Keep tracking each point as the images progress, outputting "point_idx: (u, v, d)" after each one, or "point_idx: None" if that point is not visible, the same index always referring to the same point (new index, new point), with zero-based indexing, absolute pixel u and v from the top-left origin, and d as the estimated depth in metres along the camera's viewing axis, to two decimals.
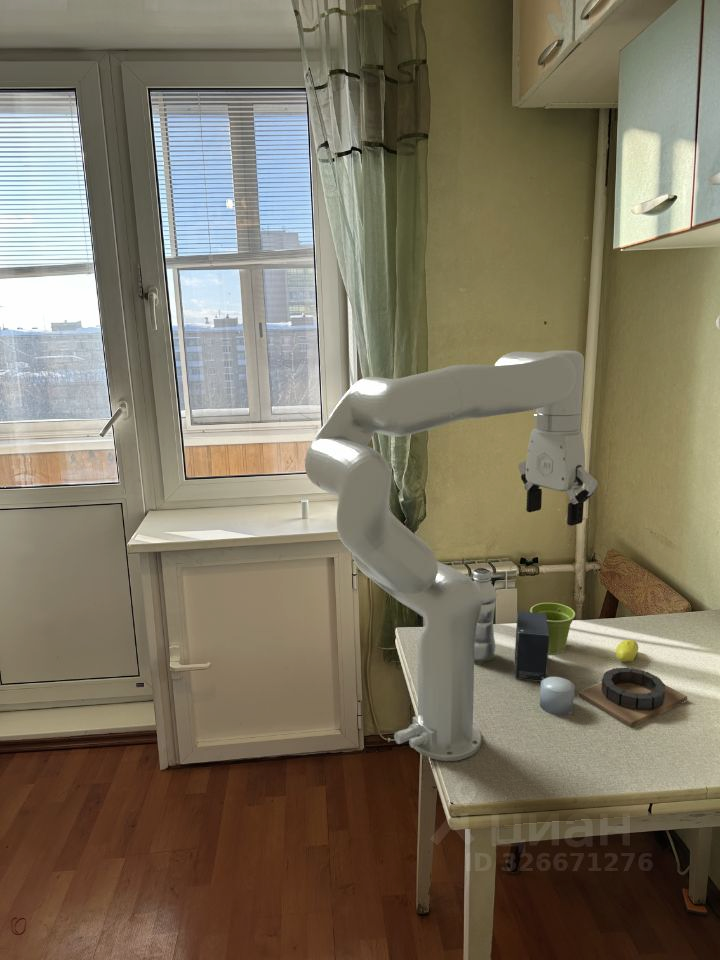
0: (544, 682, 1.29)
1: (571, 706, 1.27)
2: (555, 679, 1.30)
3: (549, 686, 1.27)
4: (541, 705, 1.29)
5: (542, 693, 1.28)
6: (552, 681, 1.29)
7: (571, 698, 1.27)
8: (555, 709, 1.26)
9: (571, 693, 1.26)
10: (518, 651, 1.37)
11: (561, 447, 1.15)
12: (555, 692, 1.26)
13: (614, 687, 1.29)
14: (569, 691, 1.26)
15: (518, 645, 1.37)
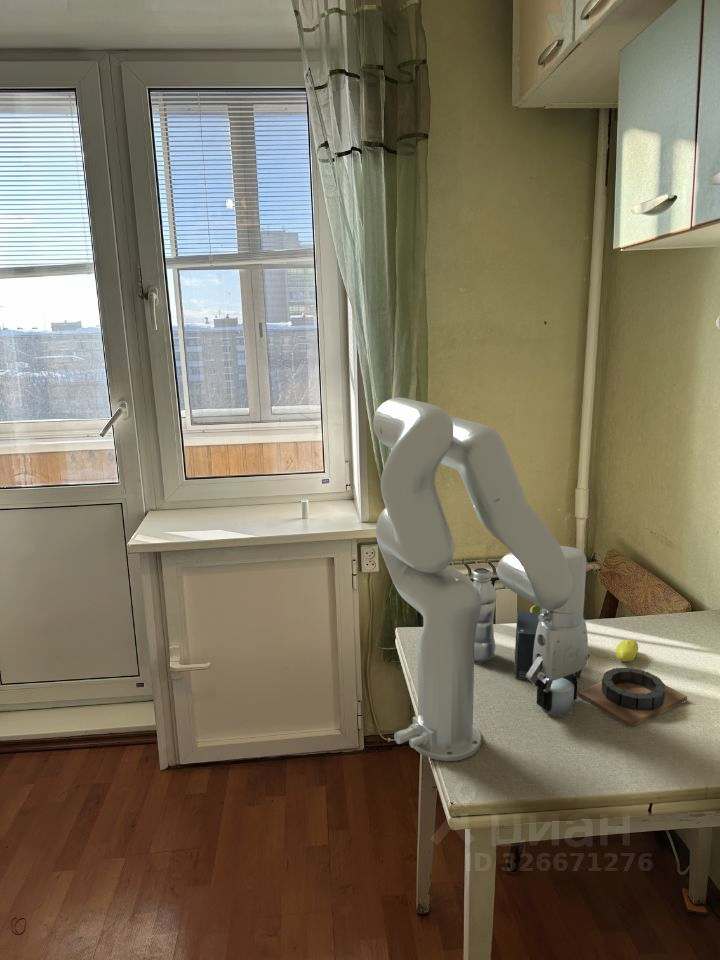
0: (544, 682, 1.29)
1: (571, 706, 1.27)
2: None
3: None
4: None
5: None
6: None
7: (571, 698, 1.26)
8: (555, 708, 1.26)
9: (571, 693, 1.26)
10: (518, 651, 1.37)
11: (583, 632, 1.25)
12: (555, 692, 1.26)
13: (614, 687, 1.29)
14: (569, 691, 1.26)
15: (518, 645, 1.37)
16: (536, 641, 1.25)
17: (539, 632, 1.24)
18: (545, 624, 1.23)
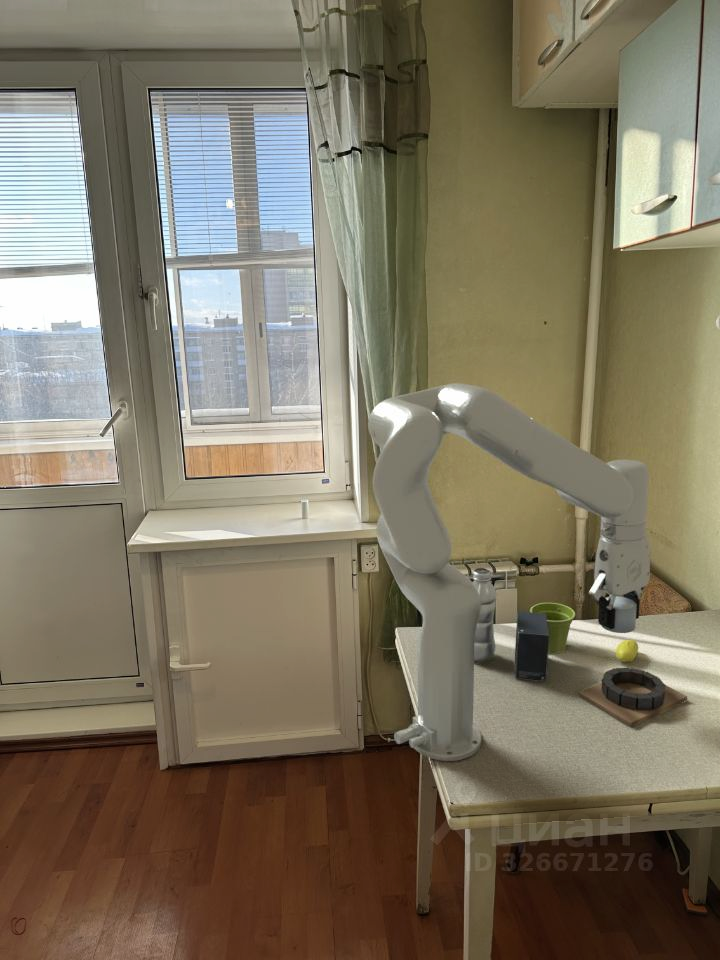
0: None
1: (634, 623, 1.25)
2: (616, 598, 1.27)
3: None
4: None
5: None
6: None
7: (634, 615, 1.24)
8: (618, 626, 1.24)
9: (634, 610, 1.24)
10: (518, 651, 1.37)
11: (646, 547, 1.23)
12: (618, 609, 1.23)
13: (614, 687, 1.29)
14: (632, 608, 1.24)
15: (518, 645, 1.37)
16: (598, 557, 1.22)
17: (601, 548, 1.21)
18: (607, 539, 1.21)
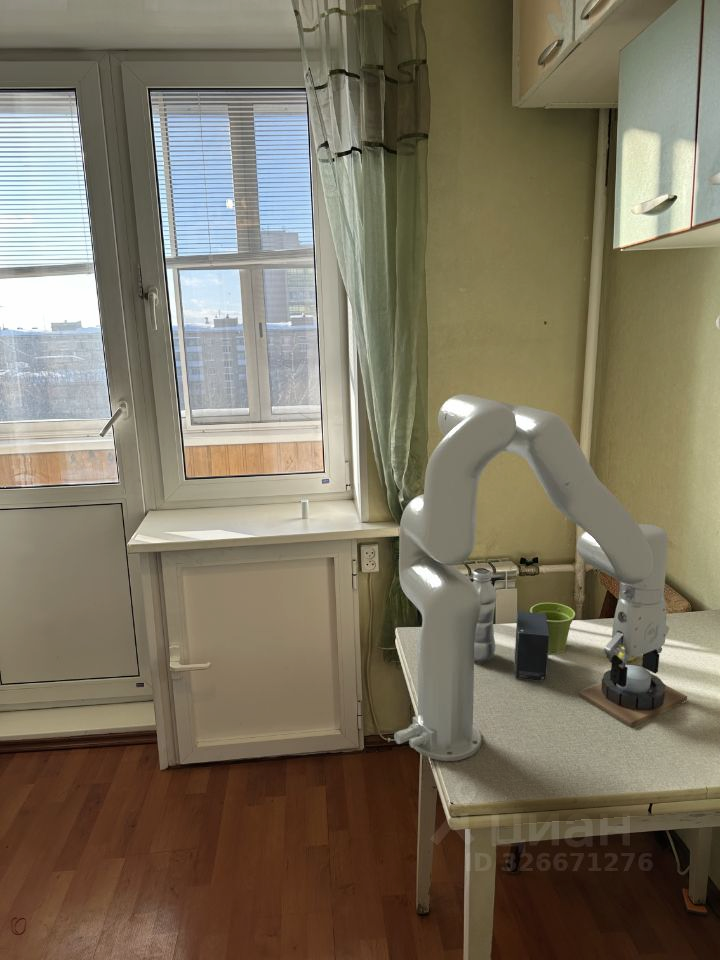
0: None
1: None
2: (631, 667, 1.31)
3: (627, 674, 1.29)
4: None
5: None
6: (628, 669, 1.31)
7: (649, 686, 1.28)
8: None
9: (649, 681, 1.28)
10: (518, 651, 1.37)
11: (663, 609, 1.26)
12: (633, 680, 1.27)
13: (614, 687, 1.29)
14: (647, 679, 1.28)
15: (518, 645, 1.37)
16: (616, 618, 1.26)
17: (620, 609, 1.25)
18: (626, 601, 1.24)
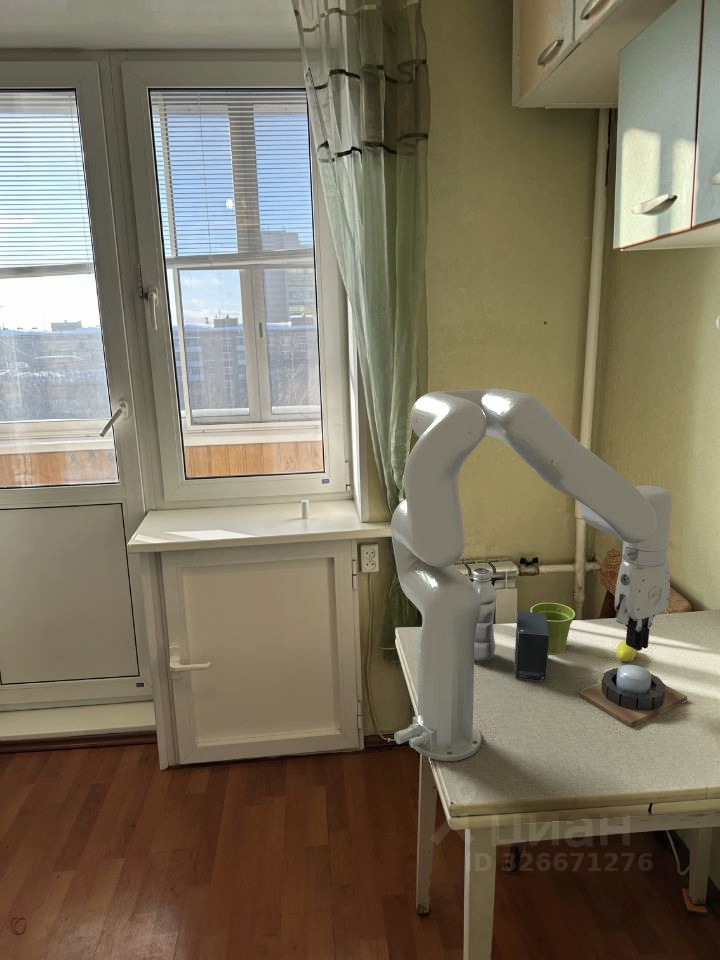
0: (621, 670, 1.30)
1: None
2: (631, 667, 1.31)
3: (627, 674, 1.29)
4: None
5: (619, 681, 1.29)
6: (629, 669, 1.31)
7: (649, 686, 1.28)
8: None
9: (649, 681, 1.28)
10: (518, 651, 1.37)
11: (666, 572, 1.24)
12: (634, 679, 1.27)
13: (614, 687, 1.29)
14: (647, 679, 1.28)
15: (518, 645, 1.37)
16: (619, 581, 1.24)
17: (623, 572, 1.23)
18: (629, 563, 1.23)
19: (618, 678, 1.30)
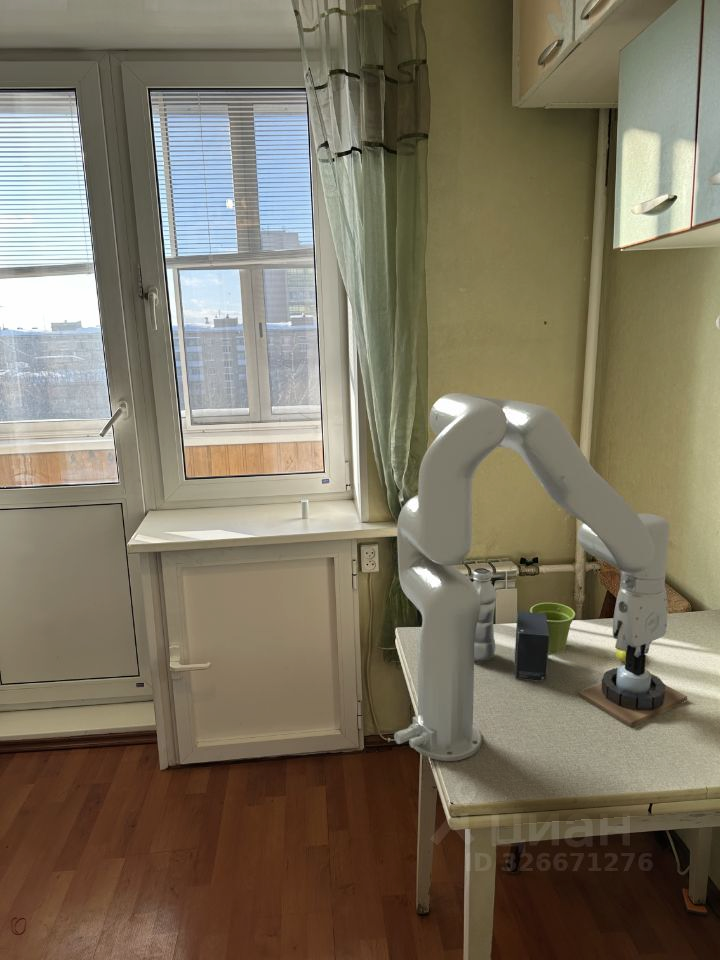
0: (621, 670, 1.30)
1: None
2: None
3: (627, 673, 1.29)
4: None
5: (619, 680, 1.29)
6: None
7: (649, 685, 1.28)
8: None
9: (649, 680, 1.28)
10: (518, 651, 1.37)
11: (664, 599, 1.26)
12: (634, 679, 1.27)
13: (614, 687, 1.29)
14: (647, 678, 1.28)
15: (518, 645, 1.37)
16: (617, 608, 1.25)
17: (620, 599, 1.24)
18: (627, 591, 1.24)
19: (618, 678, 1.30)
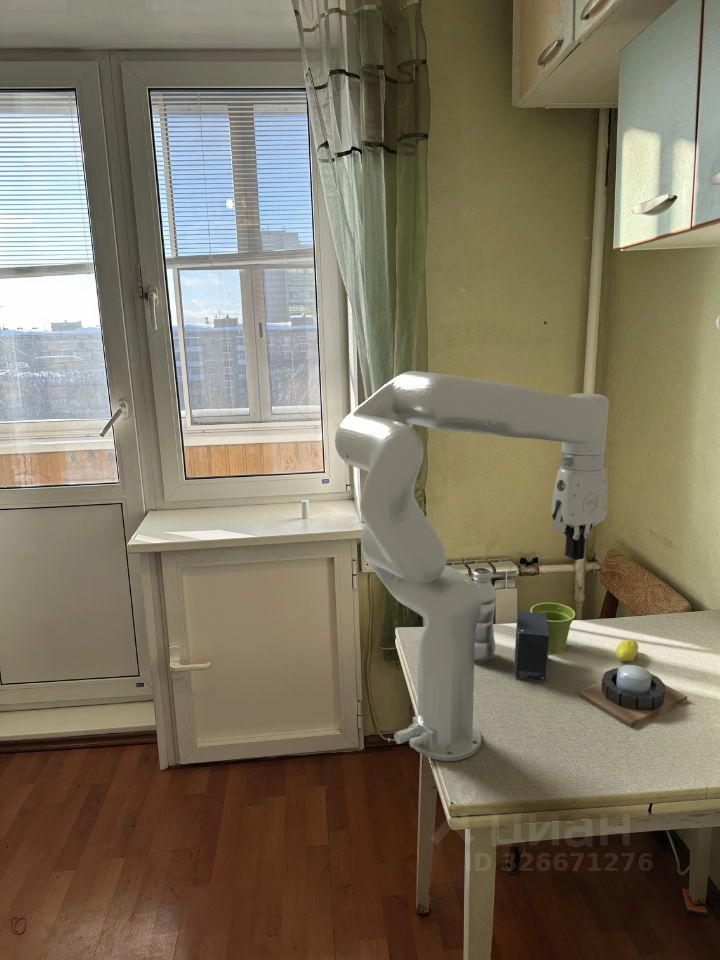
0: (621, 670, 1.30)
1: None
2: (631, 667, 1.31)
3: (627, 674, 1.29)
4: None
5: (620, 681, 1.29)
6: (628, 669, 1.31)
7: (649, 685, 1.28)
8: None
9: (649, 680, 1.28)
10: (518, 651, 1.37)
11: (604, 481, 1.25)
12: (634, 680, 1.27)
13: (614, 687, 1.29)
14: (648, 678, 1.28)
15: (518, 645, 1.37)
16: (556, 488, 1.24)
17: (559, 478, 1.24)
18: (565, 469, 1.23)
19: (618, 678, 1.30)
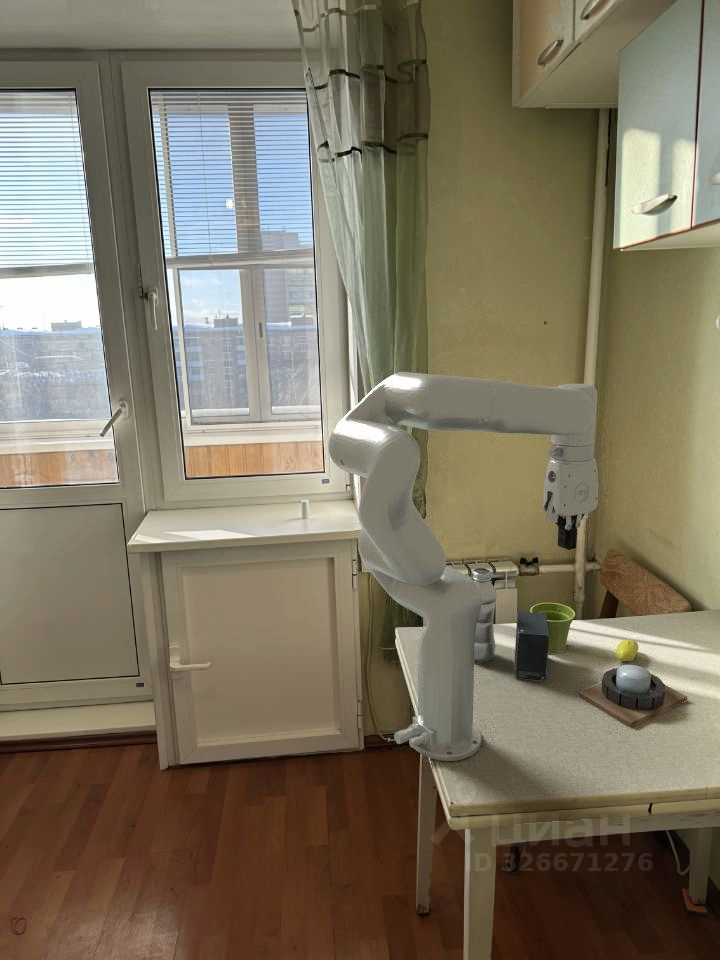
0: (620, 670, 1.30)
1: None
2: (630, 667, 1.31)
3: (627, 674, 1.29)
4: None
5: (619, 681, 1.29)
6: (628, 669, 1.31)
7: (649, 685, 1.28)
8: None
9: (649, 680, 1.28)
10: (518, 651, 1.37)
11: (594, 471, 1.25)
12: (634, 679, 1.27)
13: (614, 687, 1.29)
14: (647, 678, 1.28)
15: (518, 645, 1.37)
16: (547, 479, 1.25)
17: (550, 469, 1.24)
18: (556, 460, 1.23)
19: (618, 679, 1.30)
